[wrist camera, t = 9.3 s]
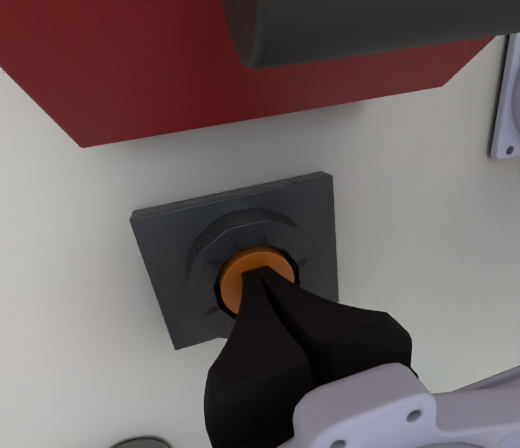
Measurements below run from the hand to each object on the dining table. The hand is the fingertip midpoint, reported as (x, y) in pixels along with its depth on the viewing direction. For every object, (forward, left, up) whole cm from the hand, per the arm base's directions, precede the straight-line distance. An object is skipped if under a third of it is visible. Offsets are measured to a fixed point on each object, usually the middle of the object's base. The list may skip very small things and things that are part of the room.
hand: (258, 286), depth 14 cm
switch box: (0, 0, -3) cm, 3 cm away
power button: (0, 0, -2) cm, 2 cm away
